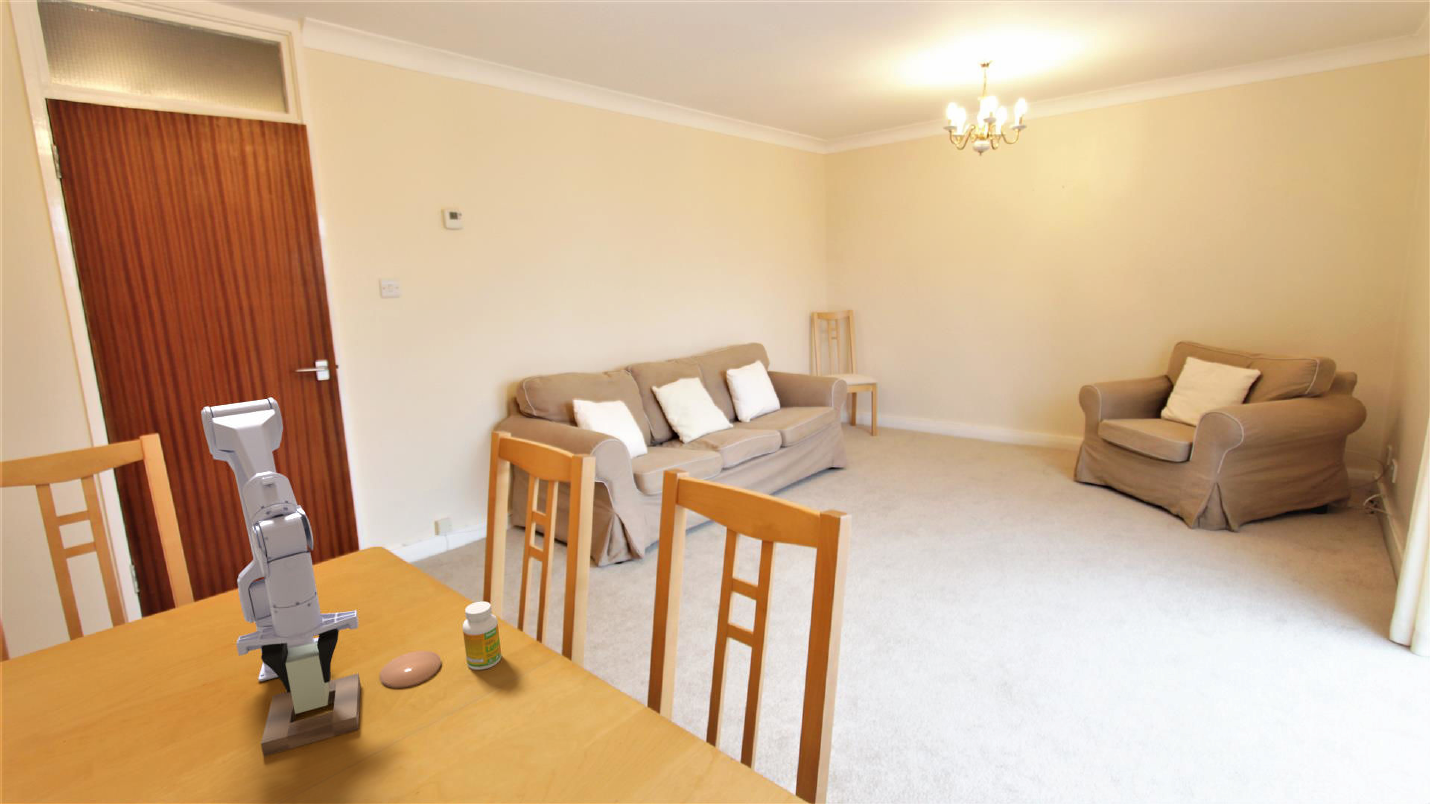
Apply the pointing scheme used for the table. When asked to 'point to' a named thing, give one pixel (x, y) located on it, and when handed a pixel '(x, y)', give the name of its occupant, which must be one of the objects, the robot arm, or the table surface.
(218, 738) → the table surface
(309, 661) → the peg
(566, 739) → the table surface
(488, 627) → the supplement bottle
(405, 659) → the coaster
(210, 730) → the table surface
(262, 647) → the robot arm
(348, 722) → the block
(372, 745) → the table surface
